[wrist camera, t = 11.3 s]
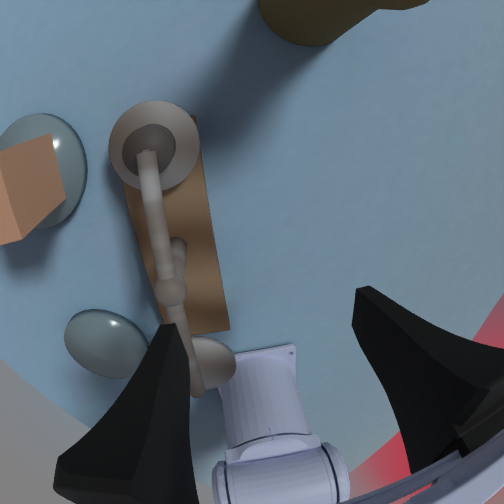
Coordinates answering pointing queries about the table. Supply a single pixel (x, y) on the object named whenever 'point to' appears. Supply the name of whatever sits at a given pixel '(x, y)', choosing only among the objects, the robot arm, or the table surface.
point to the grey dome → (67, 157)
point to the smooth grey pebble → (105, 343)
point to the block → (28, 187)
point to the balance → (175, 231)
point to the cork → (322, 17)
